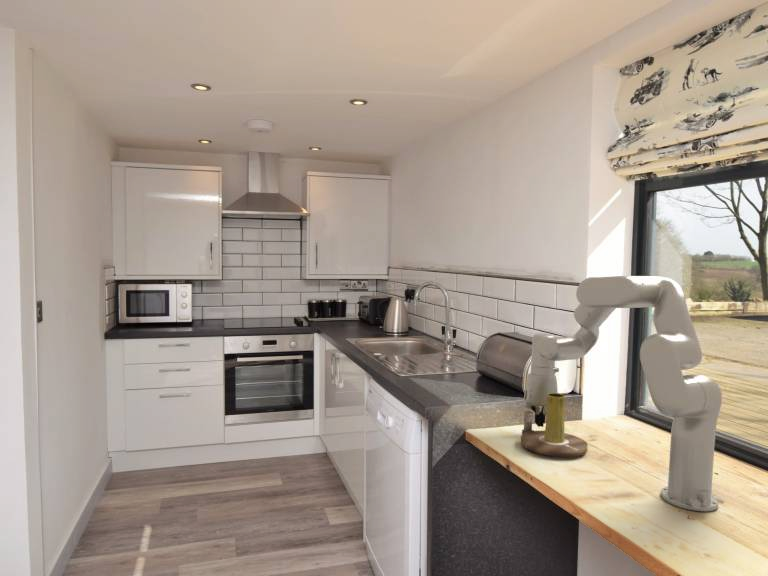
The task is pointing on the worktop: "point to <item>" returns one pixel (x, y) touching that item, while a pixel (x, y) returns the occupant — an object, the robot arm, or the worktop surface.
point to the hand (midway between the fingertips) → (539, 425)
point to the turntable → (540, 445)
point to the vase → (555, 418)
